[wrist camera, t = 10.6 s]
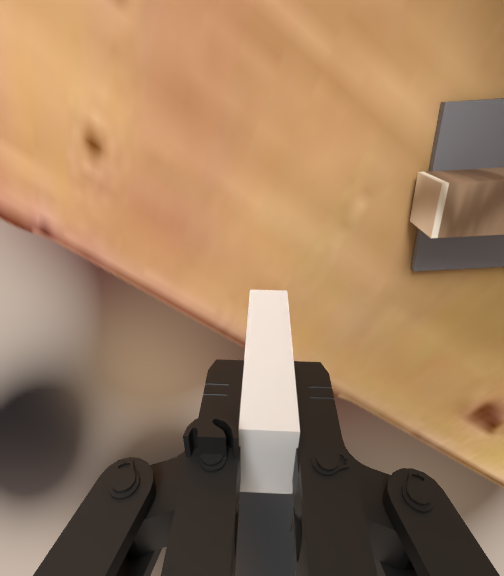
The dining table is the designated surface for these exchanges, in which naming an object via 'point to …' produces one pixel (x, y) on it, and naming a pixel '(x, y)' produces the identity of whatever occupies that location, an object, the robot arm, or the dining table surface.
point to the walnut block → (459, 202)
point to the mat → (458, 156)
